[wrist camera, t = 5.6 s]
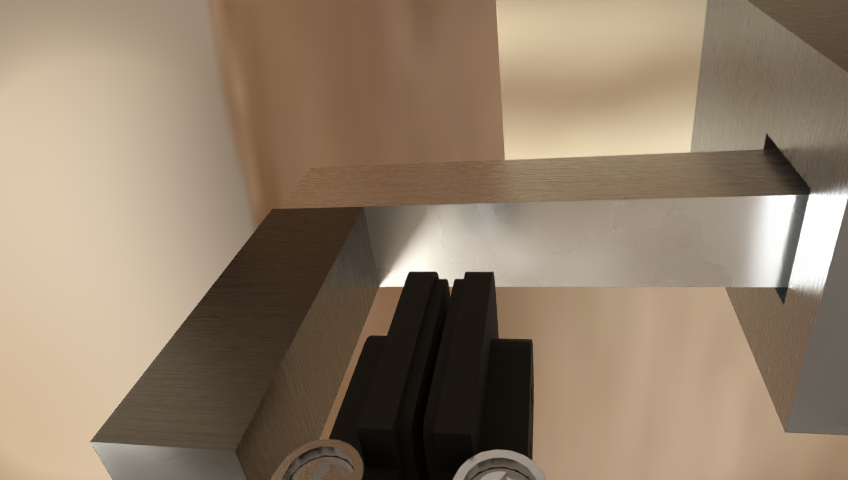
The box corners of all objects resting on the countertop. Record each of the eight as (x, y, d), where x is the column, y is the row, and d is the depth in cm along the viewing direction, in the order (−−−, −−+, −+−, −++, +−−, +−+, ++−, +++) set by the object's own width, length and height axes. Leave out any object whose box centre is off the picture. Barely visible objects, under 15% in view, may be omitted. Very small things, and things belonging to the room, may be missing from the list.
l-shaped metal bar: (1129, 227, 14) (1884, 709, 6) (321, 240, 18) (146, 536, 10) (1182, 131, 13) (2212, 578, 5) (304, 168, 17) (90, 441, 9)
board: (1143, 259, 23) (1165, 274, 22) (512, 263, 28) (511, 275, 27) (1455, -277, 15) (1509, -286, 14) (490, -139, 20) (487, -139, 19)
